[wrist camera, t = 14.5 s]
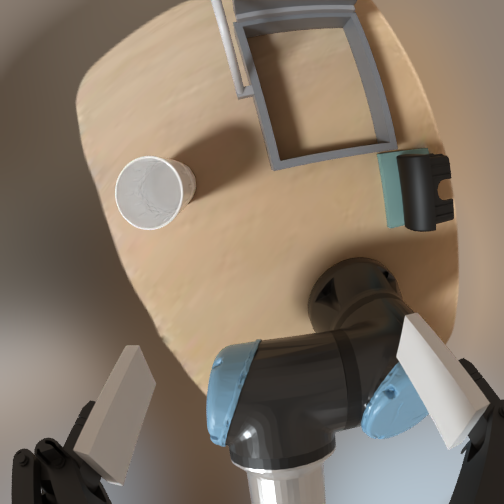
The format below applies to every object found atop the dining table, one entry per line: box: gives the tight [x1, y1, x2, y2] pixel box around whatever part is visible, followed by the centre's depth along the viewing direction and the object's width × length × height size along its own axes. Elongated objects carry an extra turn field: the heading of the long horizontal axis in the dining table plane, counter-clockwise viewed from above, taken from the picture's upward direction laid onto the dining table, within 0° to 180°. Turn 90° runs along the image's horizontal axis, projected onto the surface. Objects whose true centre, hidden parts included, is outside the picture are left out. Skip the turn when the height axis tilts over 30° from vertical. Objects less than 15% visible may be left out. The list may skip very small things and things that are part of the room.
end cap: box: [396, 154, 454, 232], centre depth 32 cm, size 10×7×7 cm
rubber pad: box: [377, 148, 429, 228], centre depth 36 cm, size 11×9×1 cm
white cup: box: [115, 156, 196, 230], centre depth 32 cm, size 8×8×10 cm
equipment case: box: [211, 0, 398, 171], centre depth 22 cm, size 23×19×21 cm
